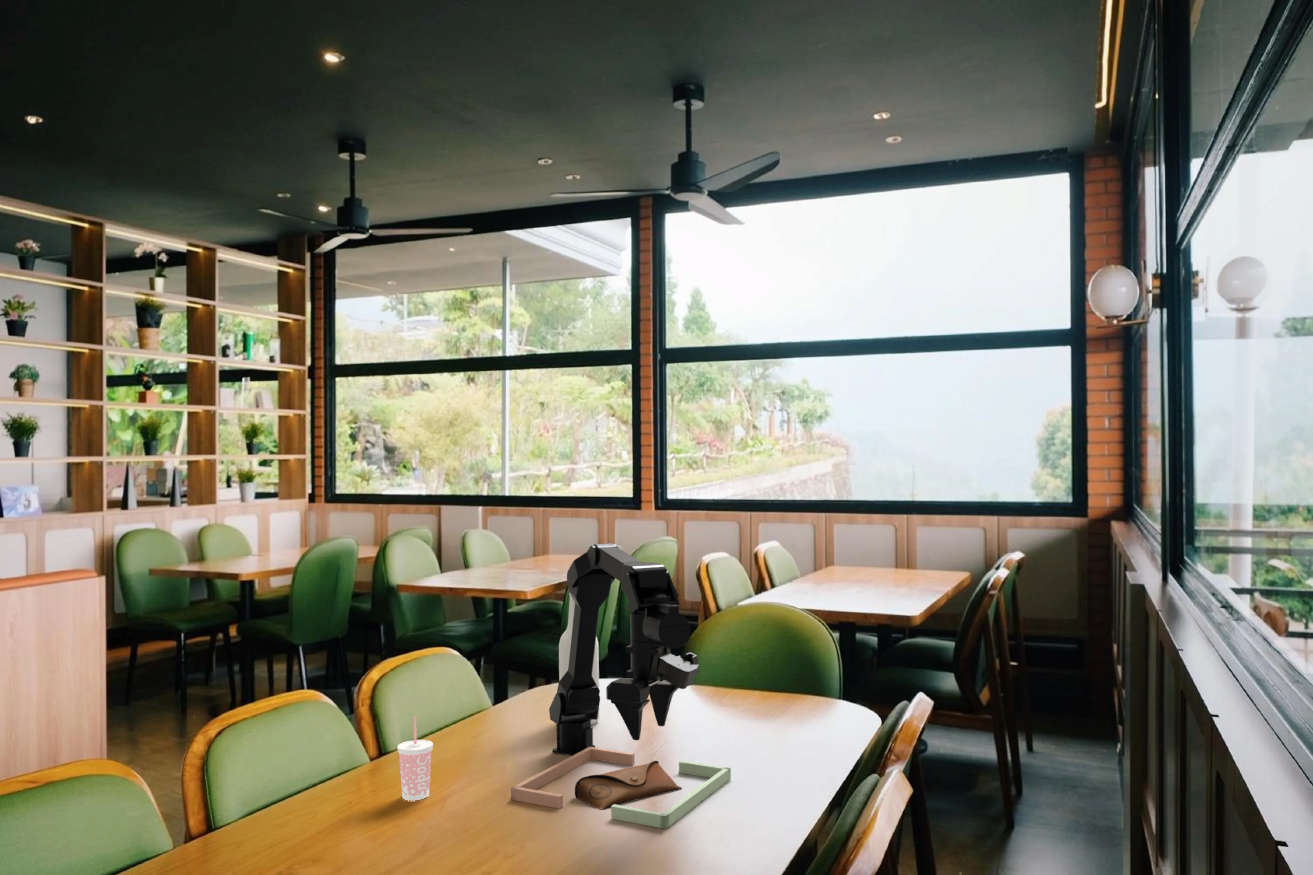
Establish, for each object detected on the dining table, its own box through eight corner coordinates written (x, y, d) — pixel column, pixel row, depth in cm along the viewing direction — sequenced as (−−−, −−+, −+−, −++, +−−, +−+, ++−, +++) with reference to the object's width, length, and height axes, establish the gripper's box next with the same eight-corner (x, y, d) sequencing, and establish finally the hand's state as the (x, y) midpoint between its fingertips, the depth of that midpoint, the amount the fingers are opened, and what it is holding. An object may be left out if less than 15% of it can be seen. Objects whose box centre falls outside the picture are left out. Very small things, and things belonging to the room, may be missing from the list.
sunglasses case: (600, 810, 158) (589, 770, 161) (581, 821, 163) (570, 782, 166) (685, 787, 169) (673, 750, 172) (665, 799, 174) (653, 762, 177)
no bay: (511, 799, 164) (510, 787, 165) (589, 756, 188) (589, 746, 188) (559, 808, 160) (559, 796, 160) (634, 763, 183) (634, 753, 183)
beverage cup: (401, 805, 162) (401, 722, 163) (394, 794, 168) (393, 714, 168) (437, 798, 165) (437, 717, 166) (428, 788, 171) (428, 709, 171)
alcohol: (607, 720, 214) (605, 586, 214) (583, 730, 206) (582, 590, 207) (575, 715, 218) (574, 583, 219) (551, 724, 211) (550, 588, 211)
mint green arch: (611, 818, 155) (611, 806, 155) (681, 771, 178) (681, 760, 178) (666, 828, 151) (665, 815, 151) (730, 778, 174) (730, 767, 174)
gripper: (665, 652, 149) (667, 753, 148) (713, 633, 166) (715, 724, 165) (603, 647, 154) (605, 745, 153) (656, 629, 171) (657, 717, 170)
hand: (649, 732), depth 160 cm, fingers open, 9 cm apart
